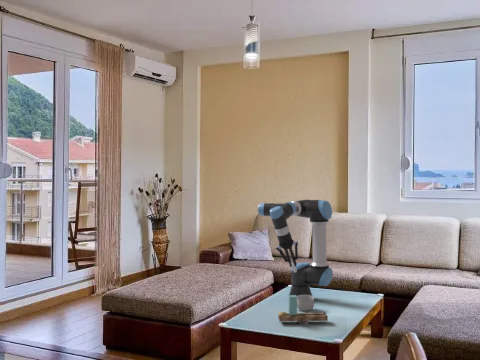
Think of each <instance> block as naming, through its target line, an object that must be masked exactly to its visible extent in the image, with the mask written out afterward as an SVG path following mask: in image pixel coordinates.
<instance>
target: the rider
mask: <svg viewBox="0 0 480 360" xmlns="http://www.w3.org/2000/svg"><path fill="white" fill-rule="evenodd" d="M288 313H289V315H290V316H292V315H297V313H298V308H297V296H296V295H289V294H288Z"/></svg>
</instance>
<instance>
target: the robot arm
mask: <svg viewBox="0 0 480 360" xmlns="http://www.w3.org/2000/svg"><path fill="white" fill-rule="evenodd" d="M257 213H258V215H259V216H262V217H270V219H271V221H272V224H273V227H274V231H275V234H276V235H277V240H278V242H279V243H278V245H277V246H276V248H275V249H276V251H278V252H279V254H280V256H281V257H282V259H283V260H284V262H285V263H288V264H289V267H290V268H291V287H290V290H289V294H288V296H289V295H296V296H298V295H311V296H313V294H312V290H311V287H310V285H314V286H320V287H322V286H323V287H327V286H329V285H330V283H331V281H332V280H333V273H334V271H333V269H332V268H331V267H330V264H329V263H328V261H327V224H328V222H329V220H330V219H331V218H332V215H333V209H332V205H331V203H330V202H329V201H328V200H323V199H302V200H294V201H293V200H292V201H288V202H287V201H286V202H268V203H267V202H261V203H259V204H258V205H257ZM290 217H301V218H307V219H309V223H311V224H312V225H311V226H312V227H311V228H312V231H311V232H312V262H311V263H310V262H297V260H299V259H298V258H299V256H298V255H299V251H298V246H299V241H294V239H293V238H292V234H291V231H290V229H289V224H288V221H287V220H288V219H289V218H290ZM293 245H294V250H293ZM282 249H283V250H284V251H283V250H282Z"/></svg>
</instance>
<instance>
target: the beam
mask: <svg viewBox="0 0 480 360" xmlns="http://www.w3.org/2000/svg"><path fill="white" fill-rule="evenodd" d="M328 317H329V316H328V315H327V313H326V312H297V315H292V316H290V315H289V312H285V311H279V312H278V317H277V318H278V320H279V322H297V324H298V325H299V326H303V325H304V326H306V325H307V326H309V322H328Z"/></svg>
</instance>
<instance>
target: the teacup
mask: <svg viewBox="0 0 480 360" xmlns="http://www.w3.org/2000/svg"><path fill="white" fill-rule="evenodd" d="M314 306H315V297H314V296H313V295H312V296H311V295H298V296H297V310H298V309H299V311H301V312H310V311H312V310H313V309H314V308H315V307H314Z"/></svg>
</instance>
